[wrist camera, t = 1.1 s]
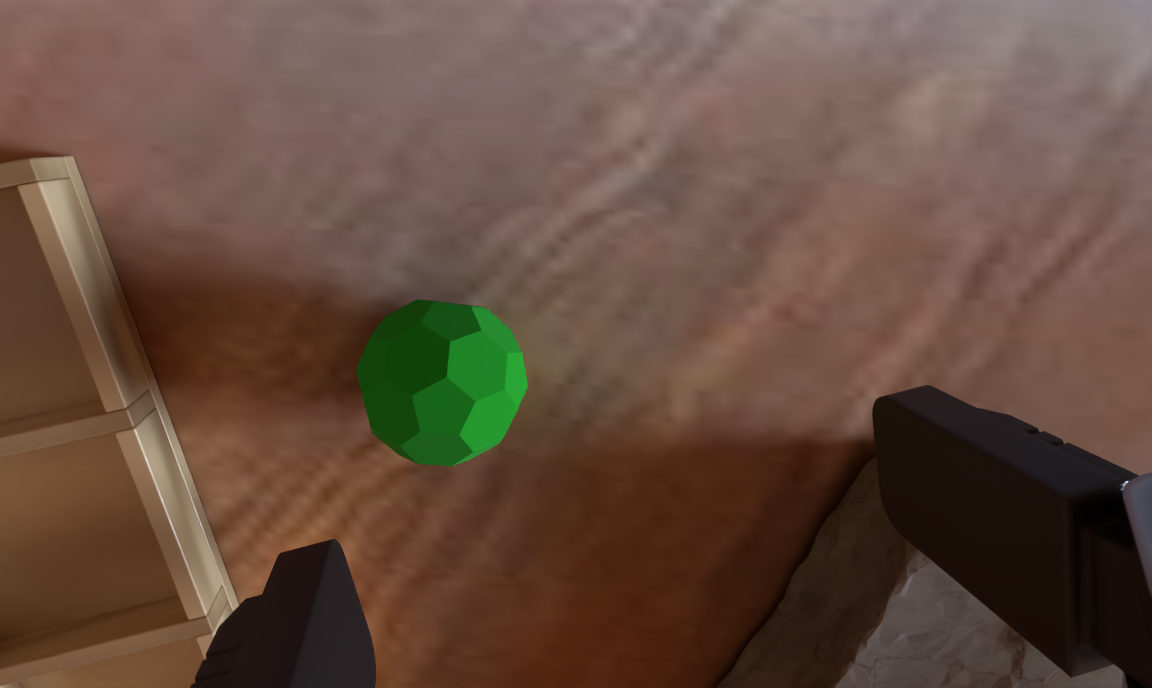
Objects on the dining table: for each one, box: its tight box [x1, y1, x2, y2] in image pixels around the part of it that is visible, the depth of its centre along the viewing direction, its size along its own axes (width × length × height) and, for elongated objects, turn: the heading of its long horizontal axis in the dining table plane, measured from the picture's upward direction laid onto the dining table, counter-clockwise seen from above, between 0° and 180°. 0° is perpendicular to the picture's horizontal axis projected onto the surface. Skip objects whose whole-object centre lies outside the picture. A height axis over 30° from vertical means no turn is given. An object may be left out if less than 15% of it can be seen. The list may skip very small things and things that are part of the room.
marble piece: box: [717, 457, 1122, 688], centre depth 29 cm, size 17×15×4 cm
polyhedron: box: [356, 300, 528, 466], centre depth 23 cm, size 5×5×5 cm
